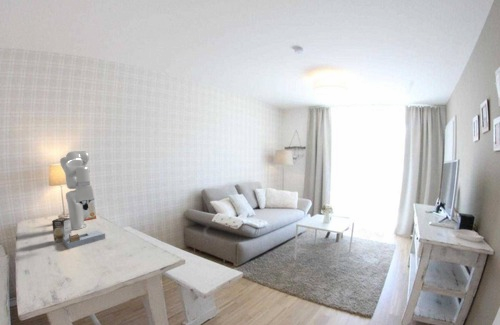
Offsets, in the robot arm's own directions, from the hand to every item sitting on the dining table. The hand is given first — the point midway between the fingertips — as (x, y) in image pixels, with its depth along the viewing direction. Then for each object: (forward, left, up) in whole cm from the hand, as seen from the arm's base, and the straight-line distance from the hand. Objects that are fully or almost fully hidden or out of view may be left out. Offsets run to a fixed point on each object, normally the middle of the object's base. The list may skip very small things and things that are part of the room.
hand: (85, 209), depth 168 cm
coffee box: (-17, -12, -23) cm, 31 cm away
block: (0, -8, -20) cm, 22 cm away
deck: (-3, -2, -23) cm, 23 cm away
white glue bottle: (-63, +14, -23) cm, 68 cm away
